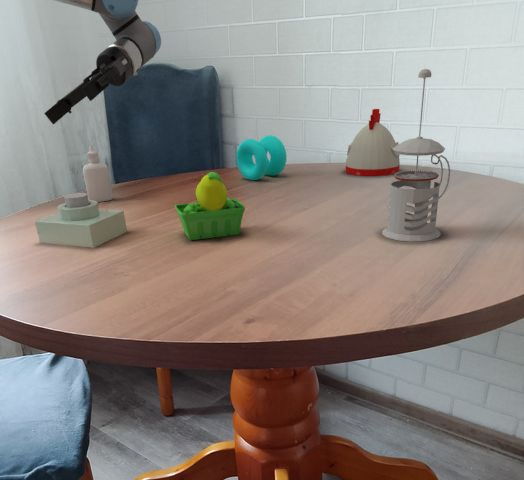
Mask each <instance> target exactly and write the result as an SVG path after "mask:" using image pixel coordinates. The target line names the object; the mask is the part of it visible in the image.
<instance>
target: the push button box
mask: <svg viewBox="0 0 524 480" xmlns="http://www.w3.org/2000/svg"><path fill="white" fill-rule="evenodd" d="M56 210H57V212H56V213H52V214H50V215H47V216H44V217H42V218H38V219H35V220H34V225H35V228H36V233H37V236H38V240H39V244H48V245H49V244H51V245H58V246H59V245H60V246H71V247H79V248H81V247H82V248H91V249H94V248H97V247H98V246H100V245H103V244H105V243H107V242H109V241H111V240H113V239H115V238H118V237H119V236H122V235H124V234H126V233H128V228H127V223H126V222H127V221H126V218H125V217H126V216H125V211H124V210H122V209H121V210H119V209H105V208H100V206H99V202H97V201H94V200H89V205H87V206H83V207H76V208H67V207H66V204H65V202H63V203H60V204H58V205H57V206H56Z"/></svg>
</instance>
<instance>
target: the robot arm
mask: <svg viewBox="0 0 524 480" xmlns="http://www.w3.org/2000/svg"><path fill="white" fill-rule="evenodd" d="M54 1H55V2H59V3H63V4H66V5H70V6H74V7H77V8H81V9H83V10H87V11H91V12H94V13H97V14H98V15H99V16H100V18H101V19H102V20H103V22H104V23H105V25H106V26H107V28H108V29H109V31H110V32H111V35H112V36H113V37H114V39H115V41H113V42H112V43H111V44H110V45H109V46H108V47H106V48H105V49H104V50H103V51H101V52H100V53H99V54H98V55H97V57H96V59H95V65H96V67H95V68H94V70H91V73H90V74H89V75H87V76H86V77H85V78H84V79H83V80H82V82H81V83H80V84H78V85H77V86H76V87H75V88H73V89H72V90H70V91H69V92H68V93H67V94H66V95H64V96H63V97H61V98H60V99H58V100H57V102H56V103H55V104H54V105H52V106H51V107H50V108H49V109H47V110H46V111H45V112H43V113H44V115H45V117H46V118H47V119H48V120H49V121H50V123H51V124H52V125H55V124H56V123H58V122H59V121H60V120H61V119H62V118H64V116H66V115H67V114H72V108H73V107H75V106H76V105H77V104H79V103H80V102H81V101H83V100H84V99H85V98H87V99H88V100H89V102H92V101H93V100H94V99H95V98H97V96H99V95H100V94H101V93H102V92H104V90H105V89H107V88H108V87H109V86H112V87H120V86H122V85H124V84H125V83H126V82H127V81H128V80H129V79H130V78H131V77H132V76H134V77H136V76H138V72H137V71H139V70H140V69H141V68H142V67H143V66H145V65H146V64H147V63H148V62H150V60H152V59H153V58H154V57H155V55H156V54H157V53H158V52H159V51H160V48H161V46H162V37H161V34H160V32H159V30H158V28H157V26H156V25H153V24H152V23H151V22H150V21H147V20H142V19H141V18H140V16H139V15H138V13H137V12H136V9H137V7H138V4H139V0H54Z"/></svg>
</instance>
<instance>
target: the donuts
mask: <svg viewBox="0 0 524 480" xmlns="http://www.w3.org/2000/svg"><path fill="white" fill-rule="evenodd" d="M268 153H269V156H270V157H269V158H268ZM235 157H236V158H235V159H236V165H237V168H238V171H239V172H240V174H241V175H242V176H243V177H244V178H245V179H247V180H249V181H257V180H260V179H261V178H263V177H264V176H265V175H267V176H271V177H274V176H277V175H279V174H281V173H282V172H283V170H284V168H285V167H286V164H287V150H286V148H285V144H284V143H283V142H282V140H281V139H280V138H278V137H277V136H275V135H272V134H270V135H265V136H263V137H262V138H260V139H259V140H256V139H254V138H246V139H244V140H243V141H242V142H240V144H239V145H238V147H237V149H236V154H235ZM253 157H254V160H253Z"/></svg>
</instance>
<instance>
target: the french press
mask: <svg viewBox="0 0 524 480" xmlns="http://www.w3.org/2000/svg"><path fill="white" fill-rule="evenodd" d="M417 78H418V79H423V83H422V84H423V85H422V95H421V107H420V117H419V129H418V132H419V133H418V136H416V137H415V138H409V139H407V140H404V141H402V142H400V143H398V145H397V146H395V147H394V148H393V151H394V153H396V154H400V155H401V156H413V157H414V156H415V157H416V163H415V164H416V165H415V169H411V170H400V171H399V172H396V173H395V174H393V177H394V179H396V180H395V181H393V182H391V184H390V193H389V197H390V201H389V209H388V214H389V215H388V223H387V226H386V227H385V228H384V229H383V230H382V231H381V233H382V236H384V237H386V238H387V239H391V240H394V241H400V242H427V241H432V240H435V239H438V238H439V237H440V236H441V235H442V233H441V232H440V230H439V229H438V228H437V227H436V225H437V224H436V223H437V217H438V208H439V207H438V206H439V200H440V199H441V198H442V197H443V196H444V194H445V193H446V191H447V189H448V187H449V184H450V179H451V178H450V177H451V167H450V162H449V161H448V159H447V157H446V156H444V155H443V153H444V151H445V150H446V148H445V147H444V145H442V144H441V143H440V142H439V141H437V140H433V139H432V138H424V137H423V136H421V133H422V132H421V131H422V120H423V112H424V111H423V109H424V100H425V99H424V98H425V88H426V87H425V86H426V80H427V78H432V70H430V69H429V68H423V69H421V70H420V71H419V72H418V76H417ZM439 154H440V155H439ZM420 156H422V157H423V156H430V163H431V164H432V165H436V166H437V165H439V163H440V169H441V171H440V175H439V173H438V172H435V171H433V170H423V169H422V170H421V169H418V167H419V166H418V165H419V157H420ZM433 157H436V158H437V162H434V161H433ZM441 158H442V159H444V161H445V163H446V164H447V168H448V175H447V182H446V185H445V188H444V190H443V192H442V193H441V194H440V188H441V185H442V182H443V178H444V177H443V176H444V168H443V167H444V166H443V162H442V160H441ZM439 177H440V180H439V182H437V181H434V180H437V179H438V178H439ZM432 181H433V187H431V185H432ZM402 187H409V188H402ZM407 203H409V204H413V205H414V206H412V205H407ZM430 205H431V207H429V206H430ZM429 213H430V215H428V214H429ZM428 221H429V222H428Z"/></svg>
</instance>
